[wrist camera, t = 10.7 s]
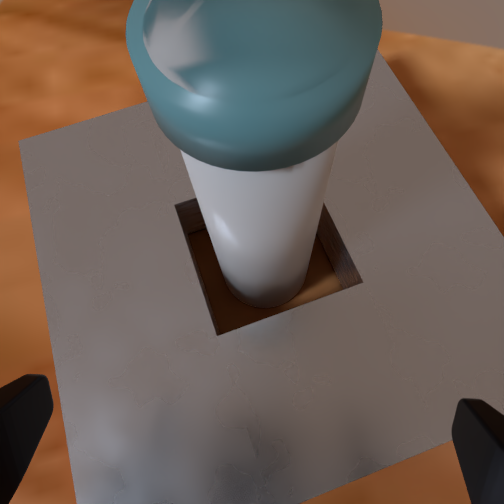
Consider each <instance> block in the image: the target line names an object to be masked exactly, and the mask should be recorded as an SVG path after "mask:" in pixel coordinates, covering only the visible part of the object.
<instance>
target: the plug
mask: <svg viewBox="0 0 504 504" xmlns="http://www.w3.org/2000/svg"><path fill="white" fill-rule="evenodd" d="M381 32H382V11H381V7H380V4H379V0H134V2H133V4H132V6H131V8H130V11H129V15H128V18H127V24H126V41H127V47H128V50H129V54H130V57H131V60H132V62H133V65H134V67H135V70H136V72H137V75H138V78H139V80H140V83H141V85H142V88H143V90H144V93H145V95H146V98H147V101H148V103H149V106H150V108H151V111H152V113H153V116H154V118H155V120H156V122H157V124H158V126H159V128H160V129H161V130H162V132H163V133H164V134H165V136H166V137H167V138H168V139H169V140H170V141H171V142H172V143H173V144H174V145H175V146H176V147H178V148H179V149H180V150H181V153H182V156H183V159H184V162H185V165H186V168H187V171H188V174H189V177H190V180H191V183H192V186H193V189H194V191H195V194H196V197H197V200H198V203H199V206H200V209H201V212H202V215H203V218H204V221H205V224H206V227H207V230H208V233H209V236H210V238H211V241H212V244H213V247H214V250H215V253H216V256H217V259H218V262H219V265H220V268H221V271H222V274H223V277H224V280H225V282H226V285H227V287H228V288H229V290H230V291H231V293H232V294H233V295H234V296H235V297H236V298H237V299H239V300H240V301H242V302H243V303H245V304H247V305H250V306H253V307H258V308H271V307H276V306H279V305H282V304H284V303H286V302H288V301H289V300H291V299H292V298H293V297H294V296H295V295H296V294H297V293H298V292H299V291H300V289H301V287H302V286H303V283H304V281H305V278H306V274H307V270H308V265H309V261H310V257H311V253H312V249H313V244H314V240H315V236H316V232H317V227H318V223H319V219H320V215H321V211H322V206H323V202H324V198H325V194H326V189H327V185H328V181H329V177H330V173H331V168H332V164H333V160H334V156H335V152H336V147H337V143H338V140H339V139H340V138H341V137H342V136H343V135H344V134H345V133H346V132H347V131H348V129H349V128H350V126H351V125H352V124H353V122H354V121H355V119H356V117H357V115H358V113H359V110H360V107H361V104H362V101H363V97H364V94H365V90H366V87H367V83H368V80H369V76H370V73H371V69H372V66H373V62H374V59H375V55H376V52H377V48H378V45H379V41H380V38H381Z"/></svg>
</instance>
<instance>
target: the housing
mask: <svg viewBox="0 0 504 504" xmlns="http://www.w3.org/2000/svg"><path fill="white" fill-rule="evenodd" d="M19 147H20V153H21V159H22V165H23V172H24V178H25V184H26V190H27V196H28V203H29V209H30V215H31V221H32V228H33V234H34V240H35V246H36V252H37V259H38V265H39V271H40V277H41V283H42V290H43V296H44V302H45V308H46V314H47V321H48V327H49V333H50V339H51V345H52V352H53V358H54V364H55V370H56V377H57V383H58V389H59V395H60V401H61V408H62V414H63V420H64V426H65V432H66V439H67V445H68V451H69V457H70V463H71V470H72V476H73V482H74V488H75V494H76V501H77V504H299V503H301V502H304V501H306V500H309V499H311V498H313V497H316V496H318V495H321V494H323V493H325V492H328V491H330V490H333V489H335V488H337V487H340V486H342V485H345V484H347V483H350V482H352V481H354V480H357V479H359V478H362V477H364V476H366V475H369V474H371V473H374V472H376V471H378V470H381V469H383V468H386V467H388V466H391V465H393V464H395V463H398V462H400V461H403V460H405V459H407V458H410V457H412V456H415V455H417V454H419V453H422V452H424V451H427V450H429V449H431V448H434V447H436V446H439V445H441V444H444V443H446V442H448V441H451V440H452V433H451V429H452V424H453V420H454V416H455V412H456V408H457V404H458V401H459V400H460V399H462V398H475V399H481V400H483V401H485V402H486V403H488V404H489V405H491V406H492V407H493V408H495V409H496V410H497V411H499V412H500V413H502V414H503V415H504V237H503V235H502V234H501V232H500V231H499V229H498V228H497V226H496V225H495V223H494V222H493V220H492V219H491V217H490V216H489V214H488V213H487V211H486V210H485V208H484V207H483V206H482V204H481V203H480V201H479V200H478V198H477V197H476V195H475V194H474V192H473V191H472V189H471V188H470V186H469V185H468V183H467V182H466V180H465V179H464V177H463V176H462V174H461V173H460V171H459V170H458V168H457V167H456V165H455V164H454V162H453V161H452V159H451V158H450V156H449V155H448V153H447V152H446V150H445V149H444V147H443V146H442V144H441V143H440V142H439V140H438V139H437V137H436V136H435V134H434V133H433V131H432V130H431V128H430V127H429V125H428V124H427V122H426V121H425V119H424V118H423V116H422V115H421V113H420V112H419V110H418V109H417V107H416V106H415V104H414V103H413V101H412V100H411V98H410V97H409V95H408V94H407V92H406V91H405V89H404V88H403V86H402V85H401V83H400V82H399V80H398V79H397V77H396V76H395V75H394V73H393V72H392V70H391V69H390V67H389V66H388V64H387V63H386V61H385V60H384V58H383V57H382V55H381V54H380V52H379V51H378V49H377V52H376V55H375V59H374V62H373V66H372V69H371V73H370V76H369V80H368V83H367V87H366V90H365V94H364V97H363V101H362V104H361V107H360V110H359V113H358V115H357V117H356V119H355V121H354V122H353V124H352V125H351V126H350V128H349V129H348V131H347V132H346V133H345V134H344V135H343V136H342V137H341V138H340V139H339V140H338V143H337V147H336V152H335V156H334V160H333V164H332V168H331V173H330V177H329V181H328V185H327V189H326V194H325V198H324V202H323V206H322V211H321V215H320V219H319V223H318V227H317V234H318V237H319V239H320V241H321V243H322V245H323V247H324V249H325V251H326V254H327V256H328V258H329V260H330V262H331V264H332V266H333V268H334V271H335V273H336V275H337V277H338V279H339V281H340V283H341V285H342V288H343V290H342V291H339V292H336V293H334V294H331V295H328V296H325V297H323V298H320V299H317V300H315V301H312V302H309V303H306V304H304V305H301V306H298V307H295V308H293V309H290V310H287V311H285V312H282V313H279V314H276V315H274V316H271V317H268V318H266V319H263V320H260V321H257V322H255V323H252V324H249V325H246V326H244V327H241V328H238V329H236V330H233V331H230V332H227V333H225V334H222V335H221V334H220V331H219V328H218V325H217V322H216V319H215V316H214V313H213V310H212V307H211V304H210V301H209V298H208V295H207V292H206V289H205V286H204V283H203V279H202V276H201V273H200V270H199V267H198V264H197V261H196V258H195V255H194V252H193V249H192V246H191V243H190V240H189V237H188V234H190V233H193V232H196V231H199V230H202V229H205V228H207V227H206V224H205V221H204V218H203V215H202V212H201V209H200V206H199V203H198V200H197V197H196V194H195V191H194V189H193V186H192V183H191V180H190V177H189V174H188V171H187V168H186V165H185V162H184V159H183V156H182V153H181V150H180V149H179V148H178V147H176V146H175V145H174V144H173V143H172V142H171V141H170V140H169V139H168V138H167V137H166V136H165V134H164V133H163V132H162V130H161V129H160V128H159V126H158V124H157V122H156V120H155V118H154V116H153V113H152V111H151V108H150V106H149V103H148V101H147V102H144V103H141V104H138V105H134V106H131V107H128V108H125V109H121V110H118V111H115V112H112V113H108V114H105V115H102V116H99V117H95V118H92V119H89V120H86V121H82V122H79V123H76V124H72V125H69V126H66V127H63V128H59V129H56V130H53V131H50V132H46V133H43V134H40V135H37V136H33V137H30V138H27V139H24V140H20V141H19Z"/></svg>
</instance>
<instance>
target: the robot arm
mask: <svg viewBox="0 0 504 504" xmlns="http://www.w3.org/2000/svg"><path fill="white" fill-rule="evenodd" d="M52 412H53V399H52V395H51V390H50V386H49V381H48V378H47V377H46V376H45V375H40V374H26V375H24V376H22V377H20V378H18V379H16V380H14V381H12V382H11V383H9V384H7V385H5V386H3V387H1V388H0V504H9V502H10V500H11V499H12V497H13V495H14V493H15V492H16V490H17V488H18V486H19V484H20V482H21V481H22V478H23V476H24V474H25V472H26V470H27V468H28V466H29V464H30V461H31V459H32V457H33V455H34V453H35V450H36V448H37V446H38V444H39V442H40V439H41V437H42V435H43V433H44V431H45V428H46V426H47V424H48V422H49V420H50V417H51V415H52ZM451 433H452V440H453V443H454V446H455V450H456V453H457V457H458V460H459V463H460V467H461V470H462V473H463V477H464V480H465V484H466V487H467V490H468V494H469V497H470V500H471V504H504V415H503V414H502V413H500V412H499V411H497V410H496V409H495V408H493V407H492V406H491V405H489V404H488V403H486V402H485V401H483V400H481V399H475V398H462V399H460V400H459V401H458V404H457V408H456V412H455V416H454V420H453V424H452V429H451Z"/></svg>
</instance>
